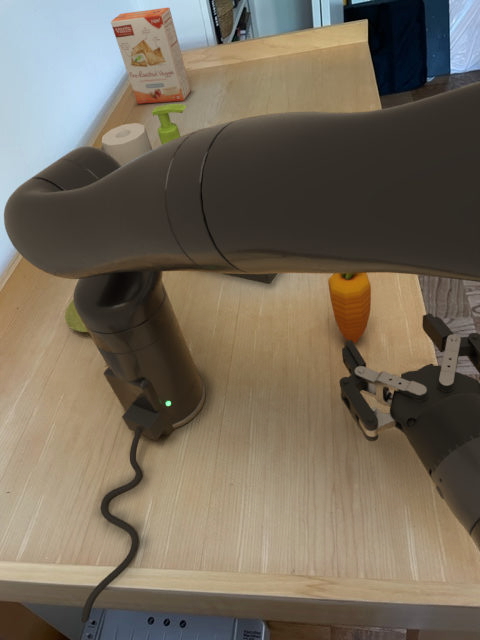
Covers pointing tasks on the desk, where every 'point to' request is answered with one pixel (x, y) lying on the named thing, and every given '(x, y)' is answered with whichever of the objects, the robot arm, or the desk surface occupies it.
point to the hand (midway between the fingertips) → (386, 333)
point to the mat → (74, 318)
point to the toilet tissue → (126, 142)
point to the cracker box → (152, 55)
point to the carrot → (350, 303)
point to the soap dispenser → (168, 121)
